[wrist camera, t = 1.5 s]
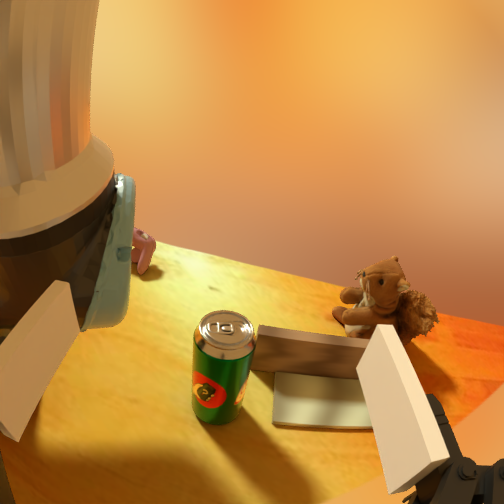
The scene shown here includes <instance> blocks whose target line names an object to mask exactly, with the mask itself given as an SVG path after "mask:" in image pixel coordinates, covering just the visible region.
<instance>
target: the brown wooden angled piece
mask: <svg viewBox="0 0 504 504" xmlns="http://www.w3.org/2000/svg"><path fill="white" fill-rule="evenodd" d="M256 340H257V343H256V348H255V352H254V357H253V361H252V365H251V369H252V370H259V371H265V372H272V373H275V377H274V396H273V414H272V424H279V425H289V426H301V427H315V428H337V429H373V427H372V423H371V419H370V416H369V412H368V408H367V405H366V401H365V397H364V394H363V390H362V387H361V384H360V380H359V377H358V373H357V370H356V367H357V366H358V364H359V362H360V360H361V358H362V356H363V354H364V352H365V350H366V348H367V346H368V343H369V341H370V339H360V338H351V337H342V336H334V335H326V334H319V333H311V332H304V331H297V330H290V329H283V328H277V327H271V326H264V325H259V327H258V331H257V336H256Z"/></svg>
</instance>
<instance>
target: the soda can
mask: <svg viewBox="0 0 504 504" xmlns="http://www.w3.org/2000/svg"><path fill="white" fill-rule="evenodd" d="M256 343H257V340H256V336H255V333H254V328H253V325H252V324H251V322H250V321H249V320H248V319H247V318H246V317H244V316H243V315H241V314H239V313H236V312H233V311H226V310H220V311H214V312H211V313H209V314H207V315H205V316H204V317H203V318H202V319H201V321H200V323H199V325H198V326H197V328H196V329H195V332H194V337H193V366H192V408H193V411H194V413H195V414H196V415H197V417H198V418H200V419H201V420H202V421H204V422H206V423H209V424H213V425H222V424H227V423H229V422H231V421H233V420H234V419H235V418H236V417H237V416H238V414H239V412H240V409H241V405H242V401H243V397H244V393H245V389H246V385H247V381H248V377H249V373H250V369H251V365H252V361H253V357H254V352H255V348H256Z"/></svg>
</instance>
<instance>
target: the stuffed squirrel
mask: <svg viewBox="0 0 504 504" xmlns="http://www.w3.org/2000/svg"><path fill="white" fill-rule="evenodd" d="M361 271H362V272H361ZM360 272H361V273H360ZM359 273H360V274H359ZM357 274H359V275H358V276H357V277H356V278H355V280H356V279H357V278H358V277H359V276H360V275H361V277H360V284H361V287H362V288H354V287H347V288H345V289H344V290H342V291H341V293H340V299H341V301H342V302H343V303H345V304H355V305H354V307H353V308H351V309H347V308H345V307H341V306H337V307H334V308H333V310H332V314H333V316H334V317H335V318H336V319H337V320H339V321H340V322H341V323H342V324H344V325H345V332H346V335H347V337H351V338H360V339H371V337H372V335H373V333H374V331H375V329H376V326H377V324H383V325H393V327H394V329H395V331H396V333H397V335H398V337H399V339H400V341H401V343H402V345H406V344H408V343H409V342H410V341H411V339H412V338H416V336H419V334H422V335H423V334H424V335H425V336H426V335H427V333H428V331H430V330H431V328H432V327H434V325H433V324H434V323H433V322H434V321H435V322H437V323H438V322H439V320H438V317H437V314H436V309H435V307H434V306H433V305H432V303H431V301H430V299H429V298H427V296H425V294H423V293H421V292H420V293H418V292H417V291H413V290H412V291H411V290H407V289H409V287H410V283H409V282H407V281H406V278H405V275H404V273H403V271H402V268H401V266H400V264H399V263H398V257H397V256H393V257H391V259H386V260H382V261H380V262H378V263H376V264H373V265H371V266H369V267H366V268H365V269H362V270H360V271H359V272H357ZM405 290H407V291H406V292H405V293H400V292H402V291H405ZM430 332H431V331H430Z"/></svg>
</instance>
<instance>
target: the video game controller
mask: <svg viewBox="0 0 504 504" xmlns="http://www.w3.org/2000/svg"><path fill="white" fill-rule="evenodd" d="M132 246H134V247H135V248H134V249H132V251H131V261H132V262H134V263H138V267H137V270H138V273H139V274H140V275H142V274H143V273H144V272H145V271H146V270H147V268H148V266H149V264H150V262H151V258H152V255H153V252H154V251H155V249H156V242H155V240H154V238H152V237H151V236H149V235H148V234H147V233H145V232H144V231H142V230H140V229H137V228H134V232H133V240H132Z"/></svg>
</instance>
